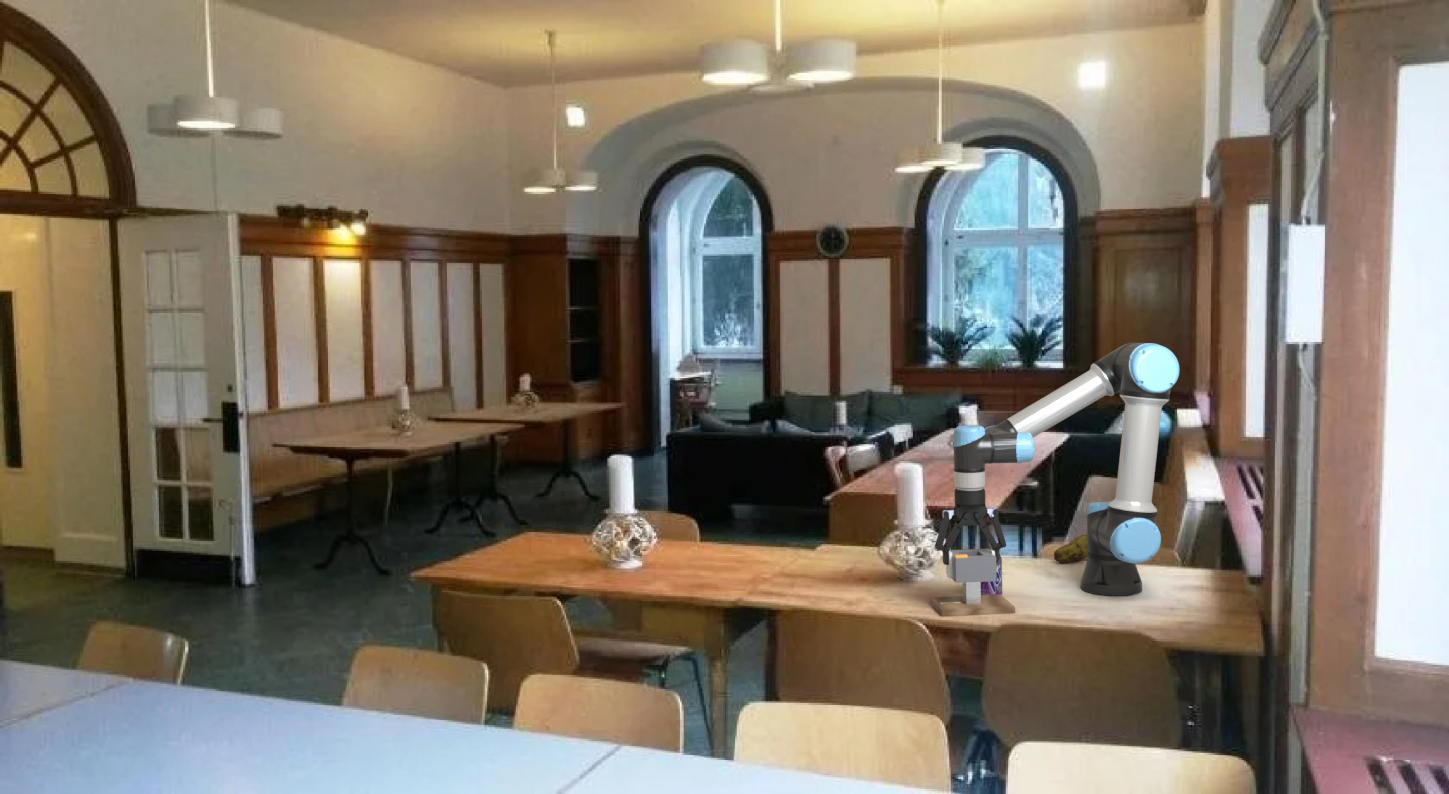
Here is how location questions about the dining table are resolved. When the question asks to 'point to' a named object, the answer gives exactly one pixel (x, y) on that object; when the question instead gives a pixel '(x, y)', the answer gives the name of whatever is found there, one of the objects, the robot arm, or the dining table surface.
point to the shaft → (972, 592)
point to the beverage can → (993, 586)
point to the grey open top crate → (973, 565)
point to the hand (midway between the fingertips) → (971, 576)
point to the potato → (1073, 551)
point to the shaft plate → (972, 605)
